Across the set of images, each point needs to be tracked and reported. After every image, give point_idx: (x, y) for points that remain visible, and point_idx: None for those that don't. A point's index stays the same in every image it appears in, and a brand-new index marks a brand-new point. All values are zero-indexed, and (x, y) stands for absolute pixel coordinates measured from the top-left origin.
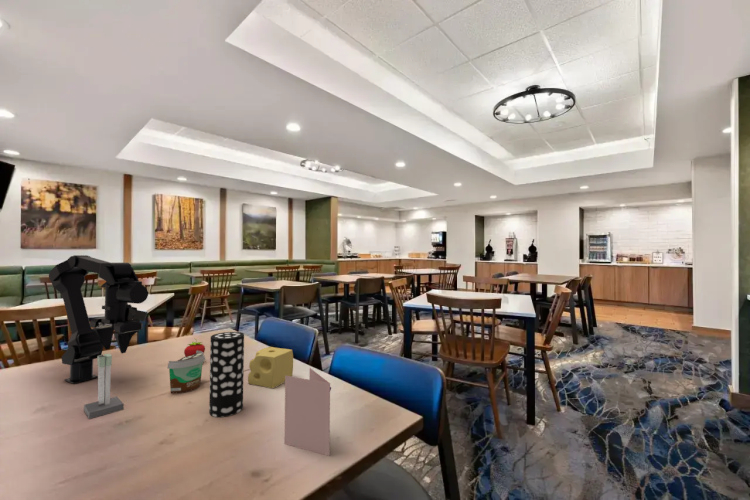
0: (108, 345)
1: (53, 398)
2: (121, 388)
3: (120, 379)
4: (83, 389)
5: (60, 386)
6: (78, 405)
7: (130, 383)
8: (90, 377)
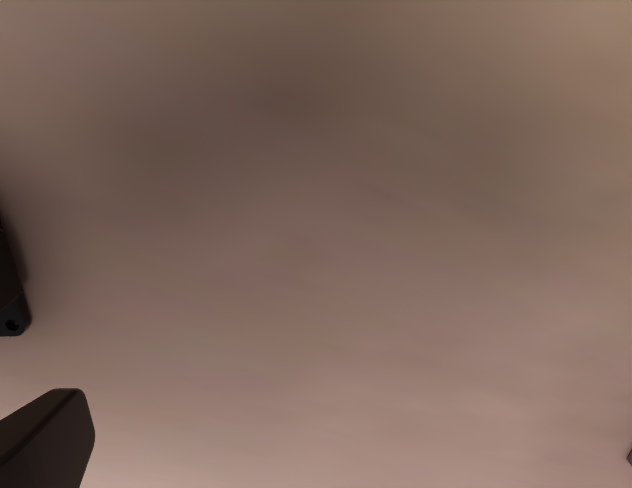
0: (47, 468)
1: (242, 466)
2: (467, 187)
3: (205, 79)
4: (218, 333)
5: (8, 380)
6: (510, 445)
7: (414, 83)
8: (4, 242)
